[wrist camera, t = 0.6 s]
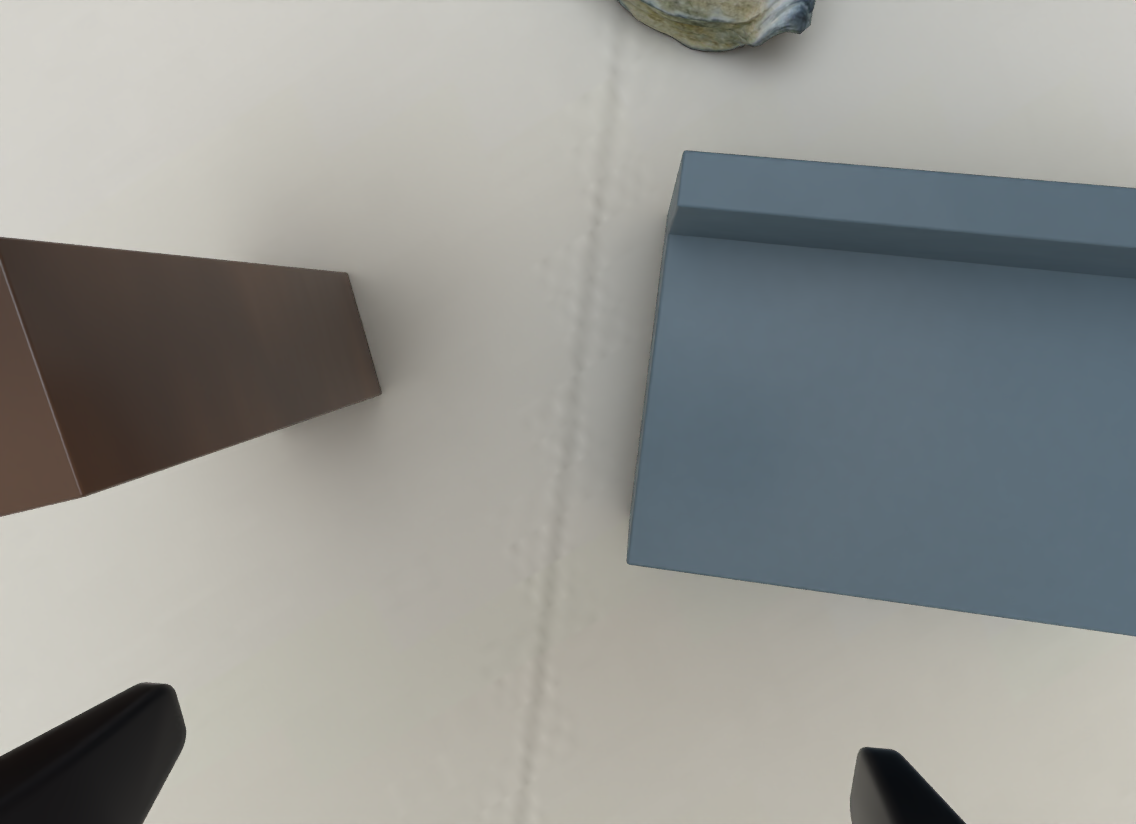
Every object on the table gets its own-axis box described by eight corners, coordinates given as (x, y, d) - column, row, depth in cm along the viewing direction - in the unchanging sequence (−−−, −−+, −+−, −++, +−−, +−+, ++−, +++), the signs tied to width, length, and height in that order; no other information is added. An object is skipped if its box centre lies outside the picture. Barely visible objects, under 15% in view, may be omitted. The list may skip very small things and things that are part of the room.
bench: (1103, 584, 21) (1425, 782, 13) (629, 520, 23) (619, 657, 14) (1184, 261, 20) (1623, 228, 11) (667, 214, 21) (683, 149, 12)
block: (382, 394, 23) (84, 496, 11) (271, 421, 24) (-131, 548, 11) (347, 272, 23) (-7, 235, 10) (234, 303, 23) (-228, 302, 11)
